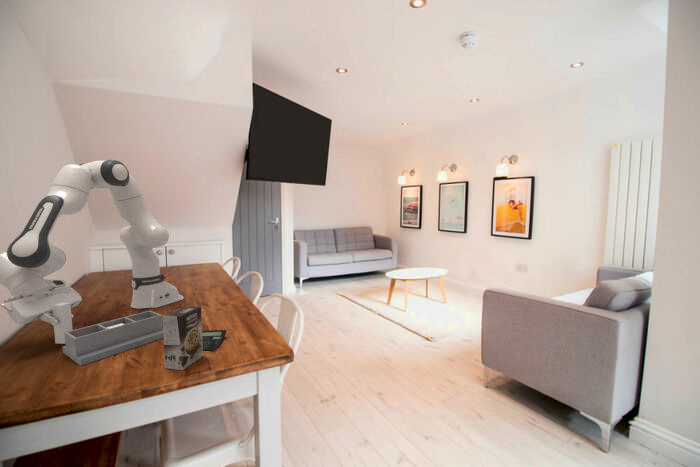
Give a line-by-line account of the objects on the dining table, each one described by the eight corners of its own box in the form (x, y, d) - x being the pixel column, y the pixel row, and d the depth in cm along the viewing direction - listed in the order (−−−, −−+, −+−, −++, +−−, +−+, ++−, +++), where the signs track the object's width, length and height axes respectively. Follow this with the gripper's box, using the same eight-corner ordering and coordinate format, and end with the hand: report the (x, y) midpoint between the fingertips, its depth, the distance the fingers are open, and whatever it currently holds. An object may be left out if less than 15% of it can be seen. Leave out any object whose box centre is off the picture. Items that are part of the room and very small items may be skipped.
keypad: (146, 327, 122) (145, 308, 121) (167, 336, 113) (166, 316, 113) (62, 352, 101) (60, 330, 101) (80, 365, 92) (78, 341, 92)
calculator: (185, 353, 101) (185, 344, 101) (199, 338, 112) (199, 330, 112) (215, 352, 102) (214, 343, 101) (226, 337, 113) (226, 329, 113)
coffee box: (183, 370, 89) (180, 316, 88) (164, 368, 91) (161, 314, 89) (204, 356, 98) (202, 306, 97) (186, 354, 100) (184, 305, 98)
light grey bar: (64, 339, 108) (61, 302, 107) (73, 339, 107) (70, 302, 106) (55, 343, 104) (52, 305, 103) (64, 343, 104) (61, 305, 103)
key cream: (122, 328, 110) (121, 323, 110) (128, 331, 108) (127, 325, 107) (106, 333, 106) (106, 327, 106) (112, 336, 104) (111, 330, 104)
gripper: (4, 294, 94) (37, 326, 95) (68, 279, 115) (95, 305, 115) (-8, 308, 95) (25, 340, 95) (58, 291, 115) (85, 317, 116)
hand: (64, 321), depth 105 cm, fingers closed on light grey bar, 3 cm apart
